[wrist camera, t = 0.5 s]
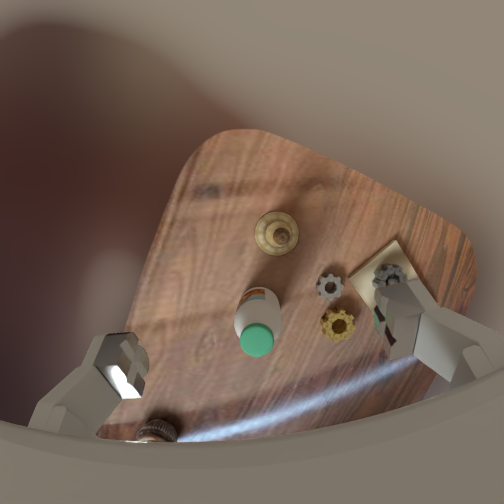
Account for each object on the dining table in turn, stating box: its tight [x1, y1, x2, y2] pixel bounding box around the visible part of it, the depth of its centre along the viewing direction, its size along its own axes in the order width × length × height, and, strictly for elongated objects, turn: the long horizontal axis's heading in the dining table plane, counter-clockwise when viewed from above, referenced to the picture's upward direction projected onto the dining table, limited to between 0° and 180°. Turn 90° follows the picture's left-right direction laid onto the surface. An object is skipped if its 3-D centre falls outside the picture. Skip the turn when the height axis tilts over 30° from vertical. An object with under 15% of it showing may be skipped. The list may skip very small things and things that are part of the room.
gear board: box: [348, 240, 419, 315], centre depth 57 cm, size 18×12×6 cm, turn 37°
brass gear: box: [320, 306, 355, 342], centre depth 59 cm, size 6×6×3 cm
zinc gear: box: [316, 273, 344, 301], centre depth 59 cm, size 5×5×2 cm
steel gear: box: [372, 263, 408, 288], centre depth 56 cm, size 6×6×3 cm
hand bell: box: [255, 211, 299, 256], centre depth 52 cm, size 8×8×16 cm
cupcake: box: [137, 419, 177, 442], centre depth 59 cm, size 10×10×10 cm
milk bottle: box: [234, 287, 282, 357], centre depth 51 cm, size 8×8×20 cm
